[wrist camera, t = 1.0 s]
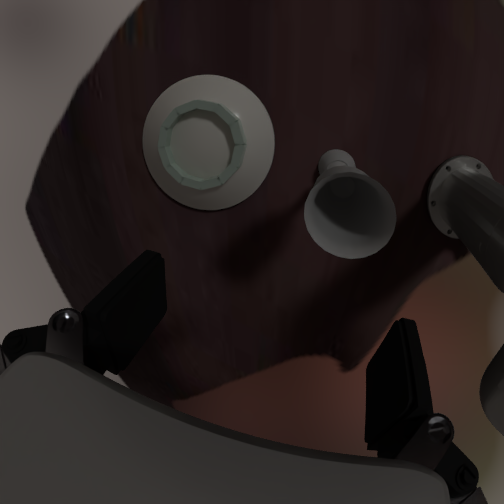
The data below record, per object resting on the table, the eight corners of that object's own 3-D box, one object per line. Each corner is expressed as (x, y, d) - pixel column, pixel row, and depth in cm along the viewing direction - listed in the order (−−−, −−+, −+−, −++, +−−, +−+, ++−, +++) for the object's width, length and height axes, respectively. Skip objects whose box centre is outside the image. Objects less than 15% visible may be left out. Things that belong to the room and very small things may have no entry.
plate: (306, 144, 35) (305, 146, 33) (210, 232, 44) (205, 239, 42) (201, 49, 31) (194, 46, 29) (125, 149, 40) (116, 151, 38)
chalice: (372, 163, 34) (413, 211, 18) (344, 202, 37) (359, 273, 22) (327, 131, 33) (337, 152, 18) (300, 172, 37) (286, 225, 21)
